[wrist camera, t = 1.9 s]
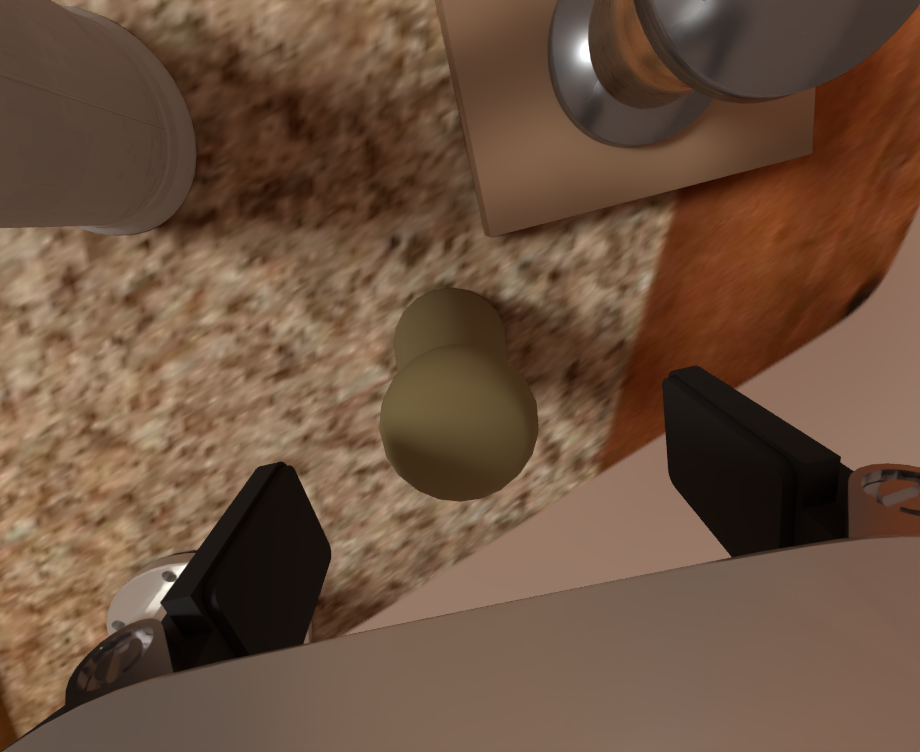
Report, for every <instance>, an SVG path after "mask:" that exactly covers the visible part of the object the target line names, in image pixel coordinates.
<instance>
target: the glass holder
mask: <svg viewBox="0 0 920 752" xmlns="http://www.w3.org/2000/svg"><path fill="white" fill-rule="evenodd" d="M196 157H197V154H196V139H195V133H194V129H193V124H192V120H191V116H190V113H189V111H188V108H187V106H186V103H185V100H184V98H183V96H182V94H181V92H180V90H179V88H178V87H177V85H176V83H175V81H174V79H173V78H172V76H171V75H170V74H169V72H168V71H167V70H166V68H165V67H164V65H163V64H162V63H161V61H160V60H159V59H158V58H157V57H156V56H155V55H154V54H153V53H152V52H151V51H150V50H149V49H148V48H147V47H146V46H145V44H144V43H143V42H141V41H140V40H139V39H137V38H136V37H135V36H134V35H132V34H131V33H130V32H128V31H127V30H126V29H124V28H123V27H121V26H119V25H117V24H116V23H114V22H112V21H110V20H109V19H107V18H105V17H103V16H100V15H97V14H95V13H92V12H89V11H86V10H84V9H80V8H75V7H69V6H63V5H58V4H56V3H54V2H52V1H51V0H0V228H21V227H62V226H75V227H77V228H80V229H84V230H87V231H90V232H94V233H99V234H107V235H115V236H116V235H133V234H137V233H141V232H145V231H148V230H150V229H153V228H155V227H157V226H159V225H161V224H162V223H164V222H165V221H166V220H167V219H169V218H170V217H171V216H173V215H174V213H175V212H176V211H177V210H178V209H179V207H180V206H181V205H182V204H183V202H184V200H185V198H186V196H187V195H188V193H189V191H190V188H191V185H192V181H193V178H194V175H195V167H196Z"/></svg>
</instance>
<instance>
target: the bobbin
mask: <svg viewBox="0 0 920 752" xmlns="http://www.w3.org/2000/svg"><path fill="white" fill-rule="evenodd" d="M919 4H920V0H557V3H556V6H555V9H554V12H553V16H552V20H551V24H550V29H549V37H548V67H549V74H550V79H551V83H552V86H553V89H554V93H555V96H556V98H557V100H558V102H559V104H560V106H561V108H562V110H563V111H564V113H565V114H566V116H567V117H568V119H569V120H570V121H571V122H572V123H573V124H574V126H575V127H577V128H578V129H579V130H580V131H581V132H582V133H583V134H585V135H587V136H588V137H590V138H591V139H593V140H595V141H597V142H600V143H602V144H605V145H609V146H612V147H621V148H630V147H639V146H644V145H648V144H651V143H654V142H657V141H659V140H662V139H665V138H667V137H670V136H672V135H674V134H676V133H678V132H679V131H681V130H682V129H684V128H685V127H687V126H688V125H689V124H691V123H692V122H693V121H694V120H695V119H696V118H698V117H699V116H700V115H701V114H702V113H703V111H704V110H705V109H706V108H707V107H708V106H709V105H710V103H711V102H712V101H713V99H717V100H721V101H724V102H732V103H740V104H748V103H762V102H768V101H773V100H778V99H781V98H784V97H787V96H790V95H793V94H796V93H799V92H801V91H804V90H807V89H810V88H813V87H816V86H819V85H822V84H824V83H826V82H828V81H830V80H832V79H834V78H836V77H838V76H840V75H842V74H844V73H846V72H847V71H849V70H850V69H852V68H853V67H855V66H857V65H858V64H860V63H861V62H862V61H864V60H865V59H866V58H867V57H869V56H870V55H871V54H872V53H874V52H875V51H876V50H877V49H879V48H880V47H881V46H882V45H883V44H884V43H885V42H886V41H887V40H888V39H889V38H890V37H891V36H892V35H893V34H894V33H895V32H896V31H897V30H898V29H899V28H900V27H901V26H902V25H903V24H904V22H905V21H906V20H907V19H908V18H909V16H910V15H911V14H912V13H913V12H914V11H915V9H916V8H917V7H918V5H919Z"/></svg>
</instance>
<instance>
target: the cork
mask: <svg viewBox="0 0 920 752" xmlns="http://www.w3.org/2000/svg"><path fill="white" fill-rule="evenodd" d="M394 349H395V357H396V365H397V373H398V374H396V375H395V376H394V378H393V380H392V382H391V384H390V386H389V388H388V390H387V392H386V394H385V396H384V399H383V402H382V407H381V415H380V424H379V429H380V433H381V437H382V441H383V445H384V449H385V453H386V457H387V458H388V460H389V461H390V463H391V464H392V466H393V468H394V469H395V471H396V472H397V474H398V475H399V476H400V477H402V478H403V479H404V480H405V481H407V482H408V483H409V484H410V485H412V486H413V487H414V488H415V489H417V490H418V491H420V492H423V493H425V494H428V495H430V496H432V497H435V498H437V499H442V500H451V501H460V502H461V501H467V500H474V499H480V498H483V497H485V496H488V495H490V494H492V493H494V492H497V491H499V490H501V489H502V488H503V487H505V486H506V485H507V484H508V483H509V482H511V481H512V480H513V479H514V478H515V477H517V476H518V475H519V474H520V473H521V471H522V470H523V468H524V467H525V465H526V463H527V462H528V460H529V459H530V457H531V456H532V454H533V451H534V447H535V443H536V439H537V435H538V415H537V404H536V401H535V399H534V397H533V394H532V392H531V390H530V388H529V386H528V384H527V382H526V380H525V378H524V377H523V375H522V374H521V373H520V372H519V371H518V370H517V369H516V368H515V367H514V366H513V365H512V364H511V363H510V362H509V361H508V352H507V342H506V333H505V327H504V324H503V322H502V320H501V318H500V316H499V314H498V312H497V311H496V310H495V309H494V308H493V307H492V305H491V304H490V303H489V302H488V301H487V300H486V299H484V298H482V297H481V296H479V295H477V294H475V293H473V292H471V291H469V290H463V289H457V288H445V289H439V290H433V291H431V292H429V293H427V294H425V295H423V296H421V297H419V298H417V299H416V300H415V301H414V302H413V303H412V304H411V305H410V306H409V307H408V308H407V309H406V310H405V311H404V312H403V314H402V316H401V318H400V320H399V322H398V325H397V327H396V332H395V340H394Z"/></svg>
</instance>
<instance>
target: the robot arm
mask: <svg viewBox="0 0 920 752" xmlns="http://www.w3.org/2000/svg"><path fill="white" fill-rule="evenodd" d="M662 387H663V402H664V416H665V430H666V445H667V459H668V471H669V476H670V479H671V481H672V483H673V485H674V486H675V488H676V489H677V490H678V492H679V493H680V494H681V495H682V496H683V498H684V499H685V500H686V501H687V503H688V504H689V505H690V506H691V507H692V509H693V510H694V511H695V512H696V514H697V515H698V516H699V517H700V519H701V520H702V521H703V522H704V523H705V525H706V526H707V527H708V528H709V530H710V531H711V532H712V533H713V534H714V536H715V537H716V538H717V539H718V541H719V542H720V543H721V544H722V546H723V547H724V548H725V549H726V551H727V552H728V553H729V554H730V556H731V558H726V559H721V560H716V561H711V562H706V563H701V564H696V565H691V566H686V567H681V568H676V569H671V570H666V571H661V572H655V573H650V574H645V575H640V576H635V577H630V578H625V579H620V580H616V581H610V582H605V583H600V584H596V585H590V586H585V587H580V588H575V589H570V590H565V591H560V592H555V593H550V594H546V595H540V596H536V597H530V598H525V599H520V600H515V601H510V602H505V603H500V604H495V605H491V606H486V607H481V608H476V609H471V610H467V611H461V612H457V613H452V614H447V615H442V616H437V617H432V618H427V619H422V620H418V621H413V622H408V623H403V624H398V625H393V626H388V627H383V628H378V629H374V630H369V631H364V632H359V633H354V634H349V635H345V636H340V637H335V638H330V639H326V640H321V641H316V642H311V640H312V622H311V619H312V616H313V613H314V610H315V607H316V604H317V601H318V598H319V595H320V591H321V588H322V585H323V582H324V579H325V576H326V573H327V570H328V567H329V564H330V560H331V548H330V545H329V542H328V540H327V538H326V536H325V534H324V531H323V529H322V527H321V525H320V523H319V521H318V519H317V516H316V514H315V512H314V510H313V508H312V506H311V503H310V501H309V499H308V497H307V495H306V493H305V491H304V488H303V486H302V484H301V482H300V480H299V478H298V475H297V473H296V471H295V469H294V468H293V467H292V466H290V465H289V466H287V465H286V464H285V463H284V462H277V463H273V464H268V465H264V466H260V467H258V468H257V469H256V470H255V471H254V473H253V474H252V476H251V477H250V478H249V480H248V481H247V482H246V484H245V485H244V487H243V488H242V489H241V491H240V492H239V494H238V495H237V496H236V498H235V499H234V500H233V502H232V503H231V505H230V506H229V507H228V509H227V510H226V512H225V513H224V514H223V516H222V517H221V519H220V520H219V521H218V523H217V524H216V525H215V527H214V528H213V530H212V531H211V532H210V534H209V535H208V537H207V538H206V539H205V541H204V542H203V543H202V545H201V546H200V548H199V549H198V550H197V552H196V553H184V554H179V555H174V556H169V557H165V558H163V559H160V560H158V561H155V562H152V563H150V564H148V565H147V566H145V567H144V568H142V569H140V570H139V571H137V572H136V573H135V574H134V575H133V576H132V577H131V578H130V579H129V580H128V581H127V582H126V583H125V584H124V586H123V587H122V588H121V589H120V591H119V592H118V593H117V595H116V596H115V597H114V598H113V600H112V603H111V605H110V608H109V610H108V615H107V630H108V635H109V637H107V638H106V639H105V640H103V641H102V642H101V643H99V644H98V645H97V646H96V647H95V648H94V649H93V650H92V651H91V652H90V653H88V654H87V656H86V657H85V658H84V659H83V660H82V661H81V662H80V664H79V665H78V666H77V667H76V669H75V670H74V672H73V674H72V675H71V677H70V678H69V681H68V684H67V687H66V692H65V705H64V706H63V707H62V708H60V709H59V710H58V711H56V712H55V713H54V714H52V715H51V716H49V717H48V718H47V719H45V720H44V721H43V722H41V723H40V724H38V725H37V726H36V727H34V728H33V729H32V730H30V731H29V732H27V733H26V734H25V735H23V736H22V737H21V738H19V739H18V740H17V741H15V742H14V743H12V744H11V745H10V746H8V747H7V748H6V749H4V750H3V751H1V752H920V467H915V466H910V465H901V464H873V465H869V466H865V467H861V468H858V469H857V470H856V471H852V470H851V469H849V468H848V467H846V466H845V465H843V464H842V463H840V460H841V457H840V456H839V455H837V454H836V453H834V452H832V451H831V450H829V449H828V448H826V447H825V446H823V445H822V444H820V443H818V442H817V441H815V440H814V439H812V438H811V437H809V436H807V435H806V434H804V433H803V432H801V431H800V430H798V429H796V428H795V427H793V426H792V425H790V424H789V423H787V422H785V421H784V420H782V419H781V418H779V417H778V416H776V415H774V414H773V413H771V412H770V411H768V410H767V409H765V408H763V407H762V406H760V405H759V404H757V403H755V402H754V401H752V400H751V399H749V398H748V397H746V396H744V395H743V394H741V393H740V392H738V391H737V390H735V389H733V388H732V387H730V386H729V385H727V384H726V383H724V382H722V381H721V380H719V379H718V378H716V377H715V376H713V375H711V374H710V373H708V372H707V371H705V370H704V369H702V368H700V367H699V366H692V367H687V368H683V369H679V370H674V371H671V372H670V373H669V378H666V379H664V380H663V383H662Z"/></svg>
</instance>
